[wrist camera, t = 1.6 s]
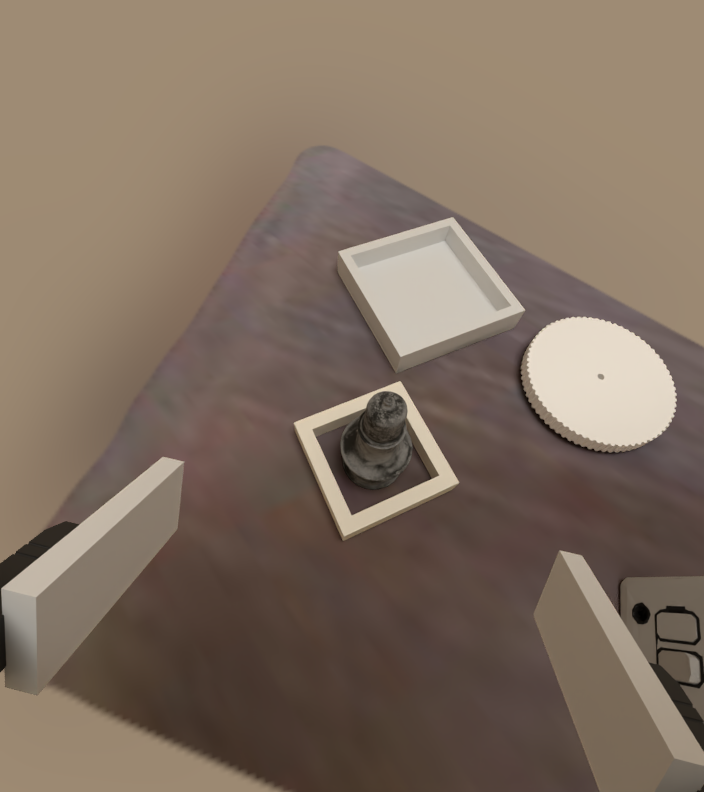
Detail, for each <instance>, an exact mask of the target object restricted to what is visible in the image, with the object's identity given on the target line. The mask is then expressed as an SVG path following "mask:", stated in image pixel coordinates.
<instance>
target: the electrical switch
mask: <svg viewBox="0 0 704 792" xmlns="http://www.w3.org/2000/svg"><path fill="white" fill-rule="evenodd" d="M620 603H621V619H622V621H623V622H624V624H625V626H626V627H627V629H628V631H629V632H630V634H631V635H632V637H633V639H634V640H635V642H636V643H637V645H638V647H639V648H640V650H641V651H642V653H643V655H644V656H645V658H646V660H647V661H648V662H649V663H653V664H658V665H661V666H662V667H663V668H664V669H665V670H666V671H667V672H668V673H669V674H670V675H671V676H672V677H673V678H674V679H675V680H676V681H677V682H678V683H679V684H680V686H681V687H682V689H683V690H684V692H685V693H686V695H687V696H688V698H689V699H690V701H691V702H692V704H693V708H696V710H697V712H698V713H699V715H700V716H701V718H702V719H703V721H704V576H682V577H629V578H625V579H624V580H623V581H622V583H621V586H620Z"/></svg>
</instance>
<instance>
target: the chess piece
mask: <svg viewBox="0 0 704 792" xmlns="http://www.w3.org/2000/svg"><path fill="white" fill-rule="evenodd" d="M407 412H408V410H407V404H406V402H405V400H404V399H403V398H402V397H401V396H400V395H398V394H397V393H394V392H391V391H382V392H379V393H377V394H375V395H373V396H372V398H371V399H370V400H369V401H368V403H367V406H366V410H365V411H364V412H363V413H362V414H361V416H359V417H357V418H355V419H354V420H352V421H351V422H350V423H349V424H348V425H347V427H346V428H345V430H344V432H343V434H342V438H341V443H340V446H341V454H342V457H343V458H342V460H343V467H344V470H345V472H346V474H347V476H348V477H349V478H350V480H351V481H353V482H354V483H355V484H356V485H358V486H360V487H362V488H366V489H371V490H374V489H381V488H384V487H387V486H389V485H390V484H391V483H393V482H394V481H395V480H396V478H397V477H398V476H399V474H400V473H402V472H403V471H404V469H405V468H406V467H407V466H408V464H409V462H410V459H411V457H412V449H413V446H412V440H411V437H410V435H409V433H408V431H407V429H406V428H407V427H406V421H405V420H406V417H407Z"/></svg>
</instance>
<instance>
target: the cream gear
mask: <svg viewBox="0 0 704 792" xmlns="http://www.w3.org/2000/svg"><path fill="white" fill-rule="evenodd" d="M524 354H525V355H524V356H523V360H522V366H521V369H522V371H521V374H522V377H521V380H523V382H522V385H523V386H524V391H526V394H525V395H526V397H528V398H529V400H528V401H529V403H532V408H535V410H536V411H535V412H536V413H537V414H539V415H540V418H541V419H544V423H545V424H549V425H550V428H551V429H554V430H555V432H556V433H560V434H561V436H562V437H563V438H564V437H566V438H567V440H568V441H574V444H580V445H581V446H582V447H585V446H586V447H587V448H588V449H592V448H593V449H594V450H595V451H598V450H601V451H602V452H605V451H608V452H610V453H611V452H613V451H615V452H616V453H617V452H620V451H622V452H625V451H626V450H628V451H630V450H632V449H636V448H638V447H641V446H643V445H645V444H646V443H648V442H650V441H652V440H653V439H655V438H657V437H658V436H659V435H661V434H662V432H664V431H665V430H666V428H667V427H668V426H669V423H671V422H672V420H671V418H673V417H674V415H673V413H675V411H676V410H675V409H674V408H675V407H676V404H675V402H676V401H677V399H676V398H675V396H676V393H675V392H674V391H675V390H676V389H675V387H673V385H674V382H673V381H672V380H671V379H672V376H670V375H669V373H670V372H669V370H667V369H666V367H667V366H666V365H664V364H663V360H662V359H660V358H659V355H658V354H656V353H655V350H654V349H651V348H650V345H647V344H646V343H645V341H644V340H641V339H640V337H639V336H635V335H634V333H633V332H632V333H630V332H629V330H627V329H623V327H622V326H620V327H619V326H617V324H615V323H614V324H611V322H609V321H608V322H605V320H599V319H598V318H595V319H593V318H592V317H589V318H586V317H583V318H580V317H577V318H574V317H571V319H569V318H566V319H565V320H564V319H561V320H560V321H555V323H551V324H550V325H547V326H546V327H545V328H543V329H542V330H541V331H540V332H539V333H538V334H537V335H536V336H535V338H534V339H533V340H532V342H531V343H530V345H529V346H528V347H527V350H526V351H525V353H524Z"/></svg>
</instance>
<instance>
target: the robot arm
mask: <svg viewBox="0 0 704 792" xmlns="http://www.w3.org/2000/svg"><path fill="white" fill-rule="evenodd" d="M183 468H184V462H183V461H179V460H174V459H170V458H166V457H162V458H161V459H160V460H159V461H157V462H156V463H155V464H154V465H152V466H151V467H150V468H149V469H147V470H146V471H145V472H144V473H143V474H141V475H140V476H139V477H138V478H136V479H135V480H134V481H133V482H131V483H130V484H129V485H128V486H127V487H125V488H124V489H123V490H122V491H120V492H119V493H118V494H117V495H116V496H114V497H113V498H112V499H111V500H109V501H108V502H107V503H106V504H104V505H103V506H102V507H101V508H100V509H98V510H97V511H96V512H95V513H93V514H92V515H91V516H90V517H88V518H87V519H86V520H85V521H84V522H82V523H81V524H80V525H79V524H75V523H71V522H67V521H65V522H63V523H60V524H58V525H56V526H53V527H51V528H48V529H46V530H44V531H43V532H42V533H40V534H39V535H38V536H36V537H35V538H34V539H32V540H31V541H30V542H29V544H28V545H27V544H26V545H24V546H23V547H22V548H20V549H19V550H18V551H16V553H15V555H14V554H13V555H11V556H10V557H8V558H7V559H6V560H4V561H3V562H2V563H0V672H1V671H2V670H3V669H4V668H5V687H7V688H11V689H14V690H19V691H22V692H26V693H30V694H34V695H38V694H39V693H40V692H41V691H42V690H43V688H44V687H45V686H46V685H47V684H48V682H49V681H50V680H51V679H52V678H53V676H54V675H55V674H56V673H57V672H58V671H59V669H60V668H61V667H62V666H63V665H64V663H65V662H66V661H67V660H68V659H69V657H70V656H71V655H72V654H73V653H74V651H75V650H76V649H77V648H78V647H79V646H80V644H81V643H82V642H83V641H84V640H85V638H86V637H87V636H88V635H89V634H90V632H91V631H92V630H93V629H94V628H95V627H96V625H97V624H98V623H99V622H100V621H101V619H102V618H103V617H104V616H105V615H106V613H107V612H108V611H109V610H110V609H111V607H112V606H113V605H114V604H115V603H116V602H117V600H118V599H119V598H120V597H121V596H122V594H123V593H124V592H125V591H126V590H127V588H128V587H129V586H130V585H131V584H132V582H133V581H134V580H135V579H136V578H137V577H138V575H139V574H140V573H141V572H142V571H143V569H144V568H145V567H146V566H147V565H148V563H149V562H150V561H151V560H152V559H153V558H154V556H155V555H156V554H157V553H158V552H159V550H160V549H161V548H162V547H163V546H164V544H165V543H166V542H167V541H168V540H169V538H170V537H171V536H172V535H173V534H174V533H175V531H176V530H177V529H178V519H179V509H180V499H181V489H182V478H183ZM533 616H534V619H535V621H536V624H537V627H538V629H539V632H540V635H541V637H542V640H543V643H544V645H545V648H546V651H547V653H548V656H549V658H550V661H551V664H552V666H553V669H554V672H555V674H556V677H557V680H558V682H559V685H560V688H561V690H562V693H563V696H564V698H565V701H566V704H567V706H568V709H569V712H570V714H571V717H572V720H573V722H574V725H575V728H576V730H577V733H578V736H579V738H580V741H581V744H582V746H583V749H584V751H585V754H586V757H587V759H588V762H589V765H590V767H591V770H592V773H593V775H594V778H595V781H596V783H597V786H598V789H599V791H600V792H704V721H703V719H702V718H701V716H700V715H699V713H698V712H697V710H696V708H693V704H692V702H691V701H690V699H689V698H688V696H687V695H686V693H685V692H684V690H683V689H682V687H681V686H680V684H679V683H678V682H677V681H676V680H675V679H674V678H673V677H672V676H671V675H670V674H669V673H668V672H667V671H666V670H665V669H664V668H663V667H662V666H661V665H658V664H653V663H649V662H648V661H647V660H646V658H645V656H644V655H643V653H642V651H641V650H640V648H639V647H638V645H637V643H636V642H635V640H634V639H633V637H632V635H631V634H630V632H629V631H628V629H627V627H626V626H625V624H624V622H623V621H622V619H621V618H620V616H619V614H618V613H617V611H616V610H615V608H614V606H613V605H612V603H611V601H610V600H609V598H608V597H607V595H606V593H605V592H604V590H603V589H602V587H601V585H600V584H599V582H598V581H597V579H596V577H595V576H594V574H593V572H592V571H591V569H590V568H589V566H588V564H587V563H586V561H585V560H584V558H583V556H581V555H577V554H573V553H569V552H564V551H560V550H559V552H558V555H557V557H556V560H555V562H554V565H553V567H552V570H551V572H550V575H549V577H548V580H547V582H546V585H545V587H544V590H543V592H542V594H541V597H540V599H539V602H538V604H537V607H536V609H535V612H534V614H533Z"/></svg>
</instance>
